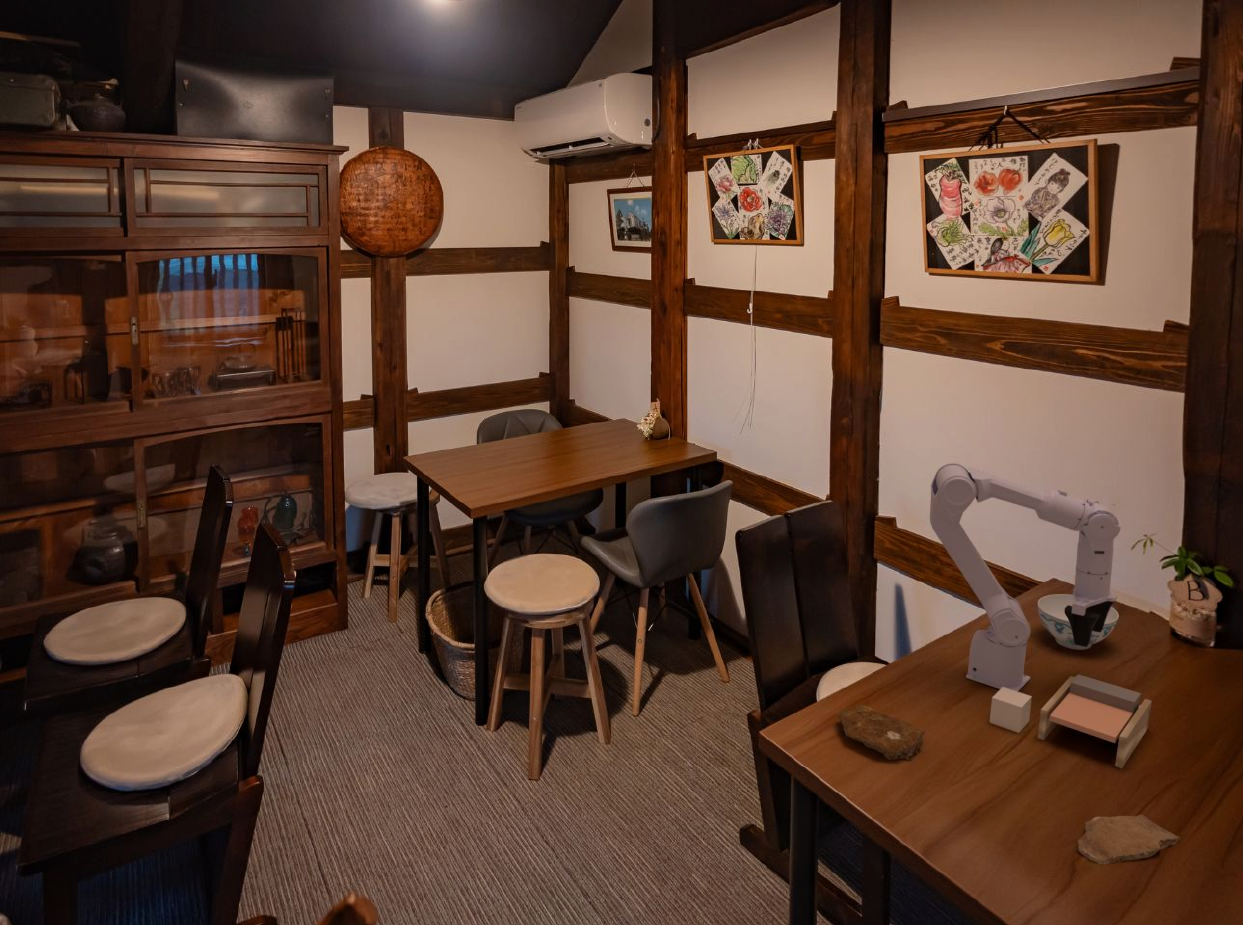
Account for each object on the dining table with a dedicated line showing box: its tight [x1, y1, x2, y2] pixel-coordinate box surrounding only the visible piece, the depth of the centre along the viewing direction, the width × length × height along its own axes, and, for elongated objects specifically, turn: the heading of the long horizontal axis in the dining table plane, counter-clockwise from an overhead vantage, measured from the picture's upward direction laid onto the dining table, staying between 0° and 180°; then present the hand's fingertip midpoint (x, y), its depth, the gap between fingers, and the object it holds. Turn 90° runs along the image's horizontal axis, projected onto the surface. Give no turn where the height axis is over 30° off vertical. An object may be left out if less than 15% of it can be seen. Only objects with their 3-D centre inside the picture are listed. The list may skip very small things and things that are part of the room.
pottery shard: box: [1076, 814, 1181, 866], centre depth 124 cm, size 8×3×15 cm
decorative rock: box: [837, 704, 926, 762], centre depth 149 cm, size 11×4×15 cm
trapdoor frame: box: [1037, 675, 1152, 769], centre depth 149 cm, size 13×16×6 cm
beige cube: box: [989, 687, 1033, 734], centre depth 153 cm, size 5×5×5 cm
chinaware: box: [1037, 593, 1120, 651], centre depth 182 cm, size 15×15×8 cm
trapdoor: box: [1049, 674, 1142, 744], centre depth 148 cm, size 10×14×3 cm
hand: (1088, 637), depth 162 cm, fingers open, 7 cm apart
